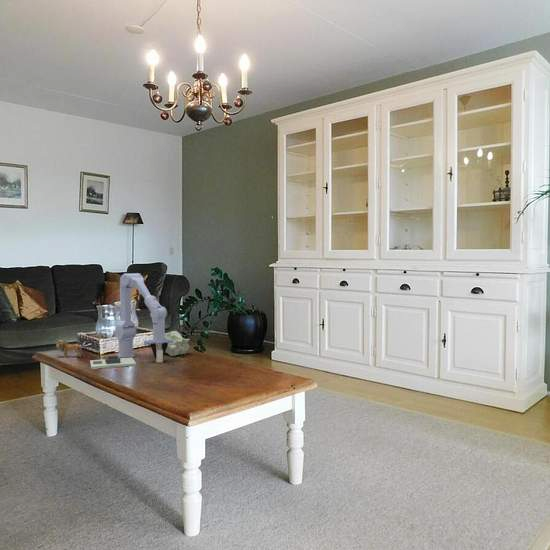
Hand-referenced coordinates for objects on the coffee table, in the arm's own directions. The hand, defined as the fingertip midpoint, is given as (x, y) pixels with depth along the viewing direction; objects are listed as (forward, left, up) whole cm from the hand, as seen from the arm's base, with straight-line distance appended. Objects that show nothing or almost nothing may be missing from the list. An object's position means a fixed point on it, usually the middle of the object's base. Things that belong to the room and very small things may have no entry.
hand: (158, 358), depth 244 cm
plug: (0, 0, -1) cm, 1 cm away
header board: (-1, -22, -1) cm, 22 cm away
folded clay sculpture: (-15, +10, -2) cm, 18 cm away
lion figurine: (-28, -41, -2) cm, 50 cm away
